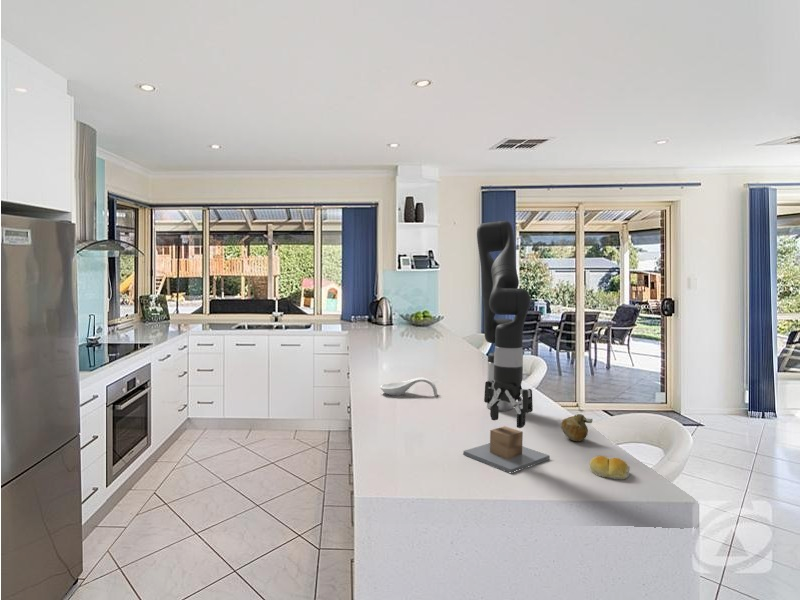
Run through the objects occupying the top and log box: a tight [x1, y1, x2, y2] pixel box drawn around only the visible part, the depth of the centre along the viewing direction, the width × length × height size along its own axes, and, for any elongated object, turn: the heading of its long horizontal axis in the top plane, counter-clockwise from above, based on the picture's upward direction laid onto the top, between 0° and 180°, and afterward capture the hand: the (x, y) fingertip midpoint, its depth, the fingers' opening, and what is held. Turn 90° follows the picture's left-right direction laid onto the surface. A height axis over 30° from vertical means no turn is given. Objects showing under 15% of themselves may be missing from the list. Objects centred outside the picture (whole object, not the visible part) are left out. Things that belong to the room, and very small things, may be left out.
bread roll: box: [589, 455, 630, 480], centre depth 118 cm, size 8×9×4 cm
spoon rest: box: [379, 377, 438, 397], centre depth 199 cm, size 24×12×7 cm, turn 85°
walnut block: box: [489, 425, 524, 459], centre depth 128 cm, size 6×6×6 cm
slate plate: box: [462, 442, 550, 474], centre depth 128 cm, size 16×16×1 cm
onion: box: [560, 414, 593, 442], centre depth 143 cm, size 8×8×8 cm
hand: (507, 423), depth 128 cm, fingers open, 8 cm apart
